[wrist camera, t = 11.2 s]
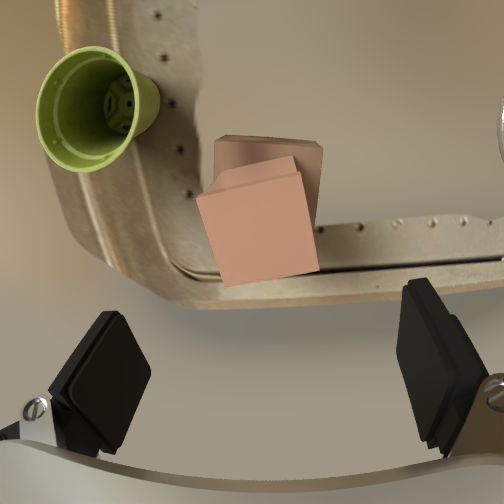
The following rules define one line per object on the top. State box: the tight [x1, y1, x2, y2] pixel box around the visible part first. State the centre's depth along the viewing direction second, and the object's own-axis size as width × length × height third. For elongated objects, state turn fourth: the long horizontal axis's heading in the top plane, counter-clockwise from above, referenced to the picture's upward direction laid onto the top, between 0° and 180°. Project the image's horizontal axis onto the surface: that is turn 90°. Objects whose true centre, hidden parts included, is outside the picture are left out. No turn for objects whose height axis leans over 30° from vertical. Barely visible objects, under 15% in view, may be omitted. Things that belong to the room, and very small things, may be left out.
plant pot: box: [36, 46, 160, 173], centre depth 22 cm, size 9×9×9 cm
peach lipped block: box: [195, 155, 319, 287], centre depth 21 cm, size 6×6×7 cm
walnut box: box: [214, 135, 323, 233], centre depth 26 cm, size 8×8×5 cm
